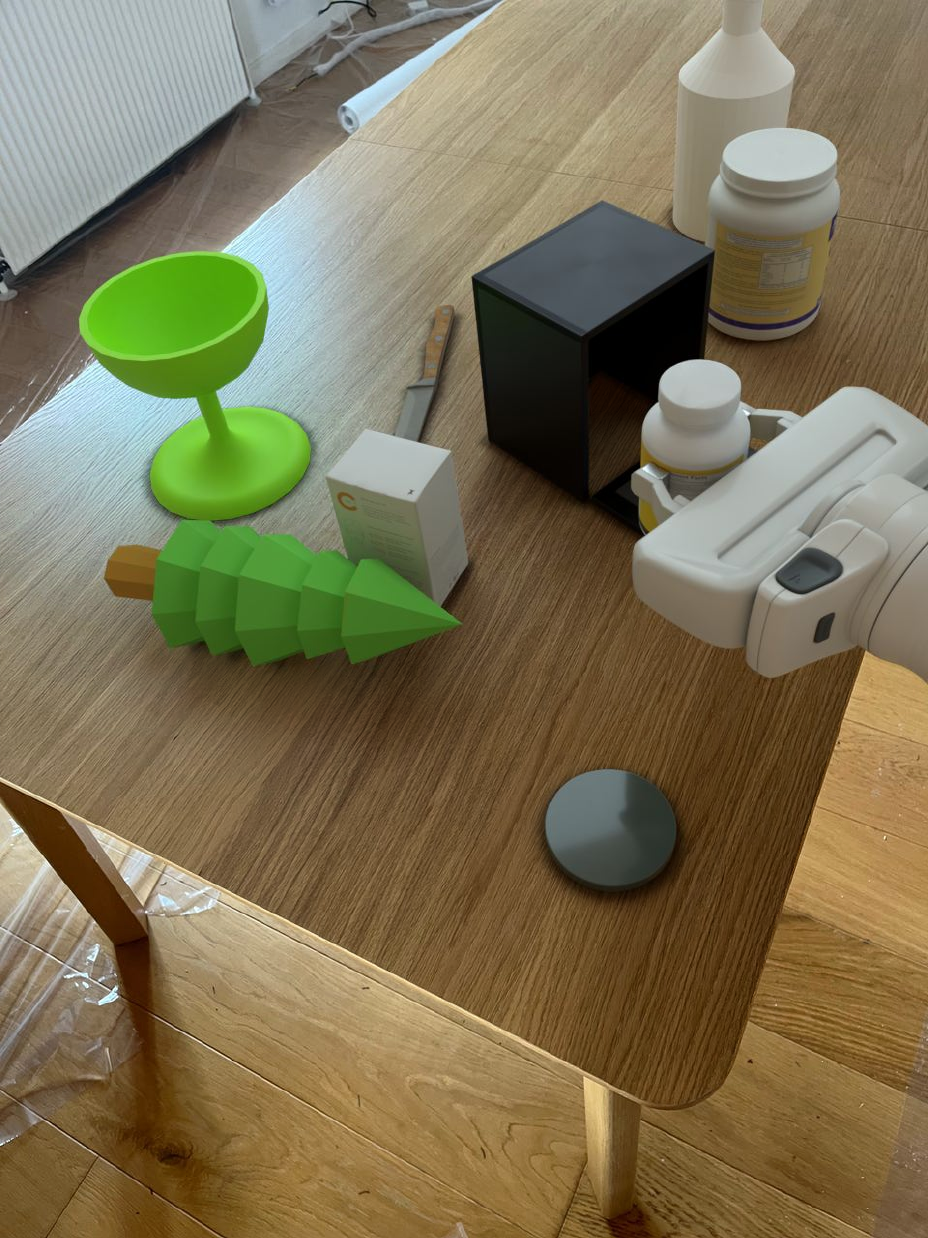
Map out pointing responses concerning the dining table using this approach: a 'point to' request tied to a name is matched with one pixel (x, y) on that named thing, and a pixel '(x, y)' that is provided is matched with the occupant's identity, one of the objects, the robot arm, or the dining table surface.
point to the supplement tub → (771, 232)
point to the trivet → (610, 830)
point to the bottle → (725, 105)
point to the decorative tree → (271, 595)
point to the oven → (585, 336)
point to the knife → (426, 378)
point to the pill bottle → (694, 430)
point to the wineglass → (198, 378)
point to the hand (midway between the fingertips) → (682, 444)
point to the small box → (401, 510)
